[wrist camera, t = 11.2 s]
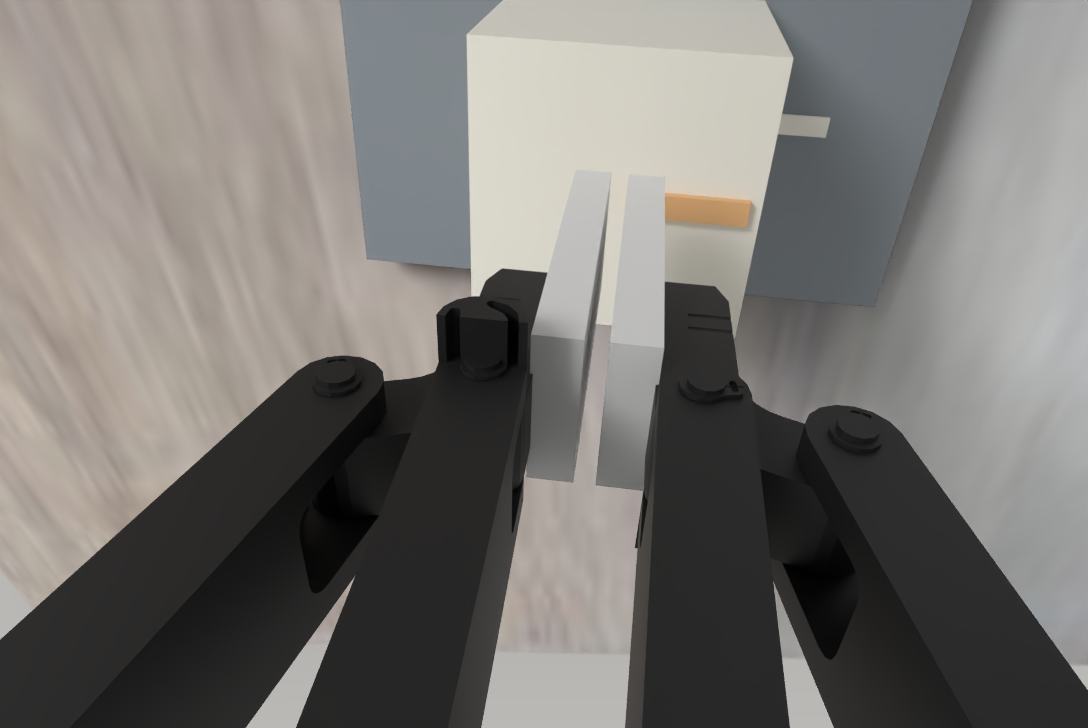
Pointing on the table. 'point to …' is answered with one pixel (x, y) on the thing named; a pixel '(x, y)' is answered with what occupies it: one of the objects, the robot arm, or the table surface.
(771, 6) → the shaft plate
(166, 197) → the table surface
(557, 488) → the table surface
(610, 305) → the cream cube
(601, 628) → the table surface
